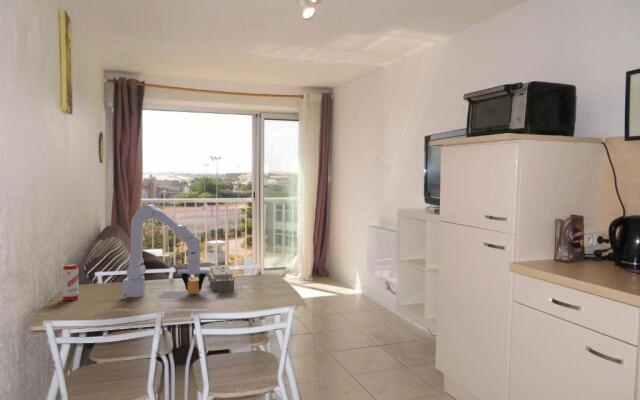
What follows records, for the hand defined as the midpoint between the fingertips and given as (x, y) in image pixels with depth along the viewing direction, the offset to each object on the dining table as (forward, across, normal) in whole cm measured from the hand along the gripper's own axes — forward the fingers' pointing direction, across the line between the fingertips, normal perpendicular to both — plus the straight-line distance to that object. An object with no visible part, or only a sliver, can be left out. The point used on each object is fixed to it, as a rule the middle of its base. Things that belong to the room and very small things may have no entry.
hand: (193, 289), depth 213 cm
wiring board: (+3, -4, -1) cm, 5 cm away
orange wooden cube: (+1, 0, 0) cm, 1 cm away
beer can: (+3, -54, -6) cm, 54 cm away
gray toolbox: (+4, +10, +16) cm, 19 cm away
